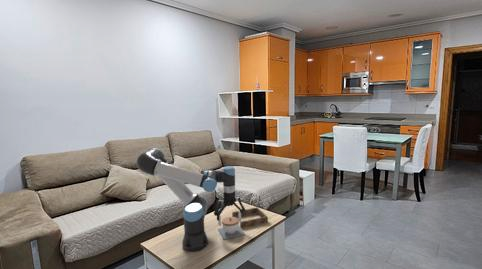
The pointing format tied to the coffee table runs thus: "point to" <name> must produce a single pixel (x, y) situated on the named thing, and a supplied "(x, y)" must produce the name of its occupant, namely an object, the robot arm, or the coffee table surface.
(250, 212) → the walnut holder
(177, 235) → the coffee table surface
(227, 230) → the lidded jar
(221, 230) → the grey mat
